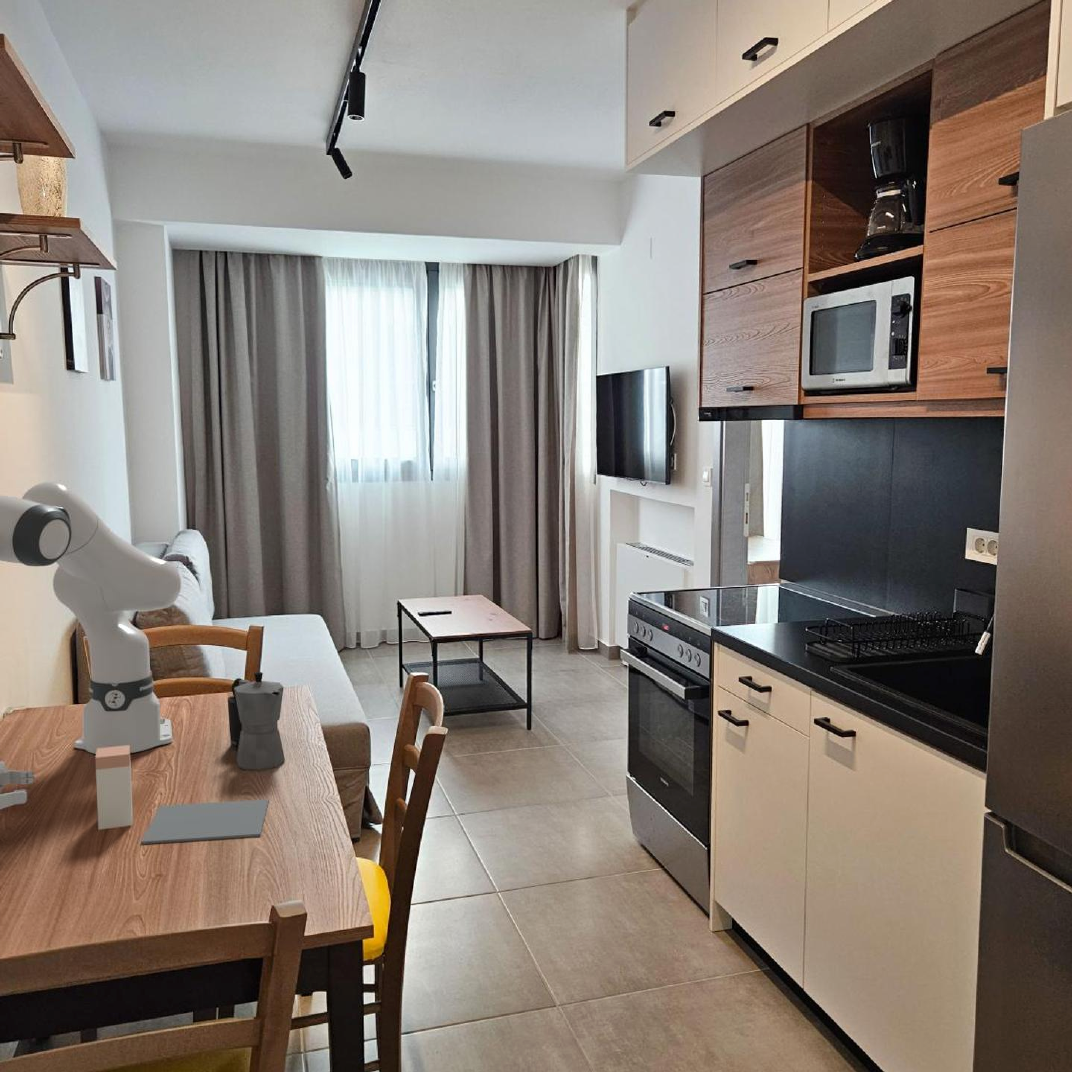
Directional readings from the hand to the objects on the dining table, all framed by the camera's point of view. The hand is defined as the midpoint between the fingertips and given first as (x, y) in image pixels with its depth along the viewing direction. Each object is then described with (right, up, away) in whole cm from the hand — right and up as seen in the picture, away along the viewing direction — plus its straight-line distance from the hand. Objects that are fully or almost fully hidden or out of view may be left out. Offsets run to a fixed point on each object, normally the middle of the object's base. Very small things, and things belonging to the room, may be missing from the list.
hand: (30, 785), depth 156 cm
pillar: (+11, -7, +5) cm, 15 cm away
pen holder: (+22, -3, +46) cm, 51 cm away
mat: (+26, -7, +6) cm, 28 cm away
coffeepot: (+26, -4, +35) cm, 44 cm away
